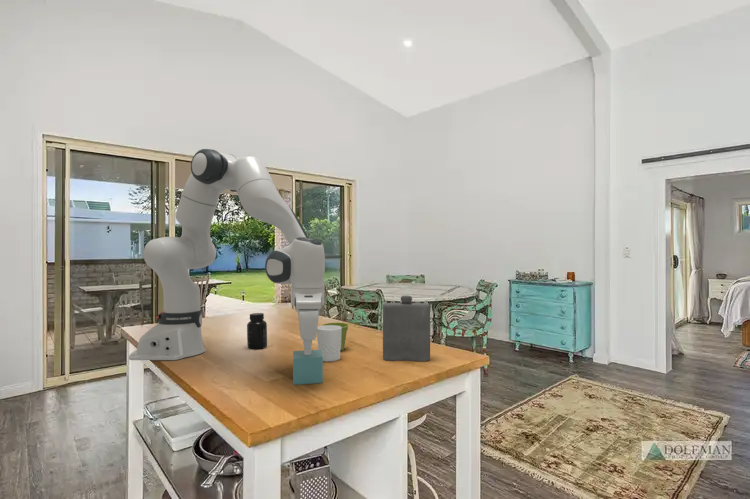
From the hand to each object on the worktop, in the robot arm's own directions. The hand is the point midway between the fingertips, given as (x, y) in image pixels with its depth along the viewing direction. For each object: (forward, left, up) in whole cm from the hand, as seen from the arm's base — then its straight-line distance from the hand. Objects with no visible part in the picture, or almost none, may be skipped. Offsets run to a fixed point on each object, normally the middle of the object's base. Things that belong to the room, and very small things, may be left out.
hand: (307, 349), depth 108 cm
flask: (+32, +14, -8) cm, 35 cm away
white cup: (+8, +19, -8) cm, 22 cm away
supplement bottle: (-16, +39, -8) cm, 43 cm away
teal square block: (0, 0, -8) cm, 8 cm away
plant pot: (+11, +30, -8) cm, 33 cm away
